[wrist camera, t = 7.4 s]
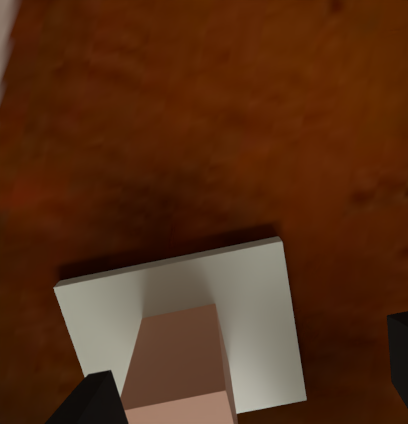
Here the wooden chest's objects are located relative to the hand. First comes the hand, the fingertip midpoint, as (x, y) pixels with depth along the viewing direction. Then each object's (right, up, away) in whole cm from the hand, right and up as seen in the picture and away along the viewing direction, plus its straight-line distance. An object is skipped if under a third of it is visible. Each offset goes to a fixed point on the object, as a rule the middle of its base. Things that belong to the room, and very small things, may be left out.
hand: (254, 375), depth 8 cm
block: (-2, -3, +10) cm, 10 cm away
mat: (-2, -3, +10) cm, 11 cm away
